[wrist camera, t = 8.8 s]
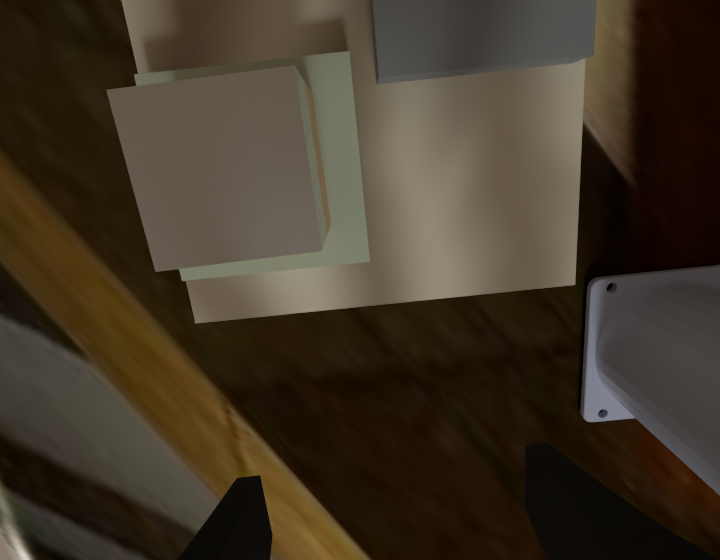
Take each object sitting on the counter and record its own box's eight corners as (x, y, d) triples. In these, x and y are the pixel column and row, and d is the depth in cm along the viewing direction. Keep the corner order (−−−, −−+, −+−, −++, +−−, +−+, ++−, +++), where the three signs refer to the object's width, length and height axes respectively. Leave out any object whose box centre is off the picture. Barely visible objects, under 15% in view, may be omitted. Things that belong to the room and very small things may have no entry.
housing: (312, 93, 16) (294, 65, 11) (330, 225, 17) (322, 251, 12) (181, 110, 16) (106, 90, 11) (210, 239, 17) (155, 271, 12)
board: (582, -185, 15) (597, -207, 15) (564, 278, 21) (575, 284, 20) (104, -129, 16) (87, -148, 15) (202, 315, 21) (195, 323, 20)
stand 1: (349, 60, 17) (349, 51, 15) (368, 253, 19) (369, 261, 18) (152, 81, 17) (133, 74, 15) (194, 271, 19) (181, 281, 18)
